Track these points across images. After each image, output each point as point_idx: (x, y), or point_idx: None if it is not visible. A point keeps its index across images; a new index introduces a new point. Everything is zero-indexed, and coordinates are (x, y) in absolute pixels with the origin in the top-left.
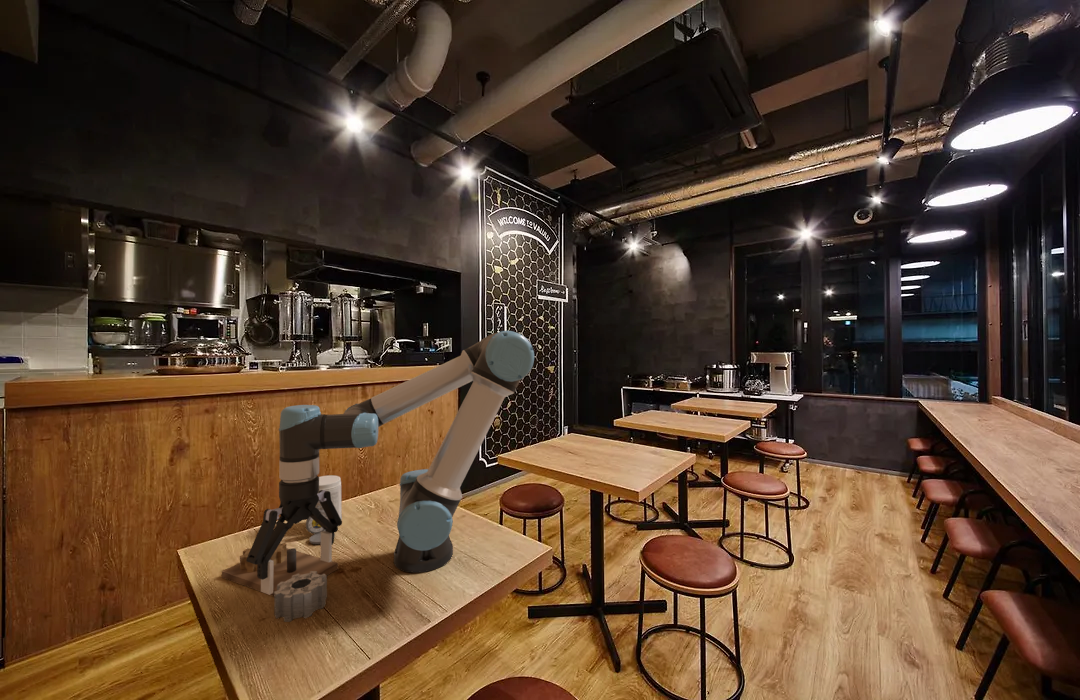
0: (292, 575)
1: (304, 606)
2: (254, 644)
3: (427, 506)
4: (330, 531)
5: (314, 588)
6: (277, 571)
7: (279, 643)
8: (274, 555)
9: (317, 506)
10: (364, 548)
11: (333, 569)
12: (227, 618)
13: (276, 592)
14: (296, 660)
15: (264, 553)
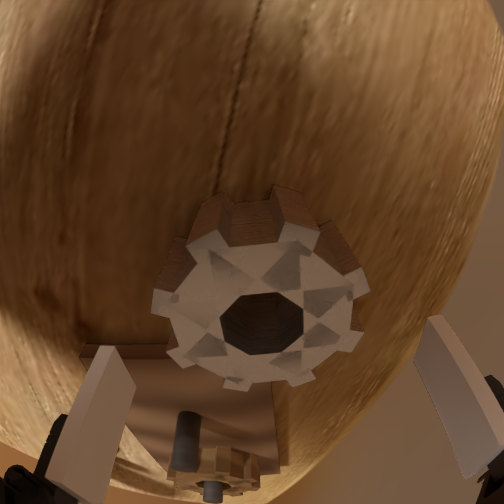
0: (199, 402)
1: (307, 208)
2: (437, 215)
3: None
4: (51, 487)
5: (251, 243)
6: (215, 432)
7: (414, 148)
8: (204, 468)
9: (79, 501)
10: (15, 354)
11: (97, 348)
12: (377, 366)
13: (352, 343)
14: (431, 32)
15: (489, 494)
